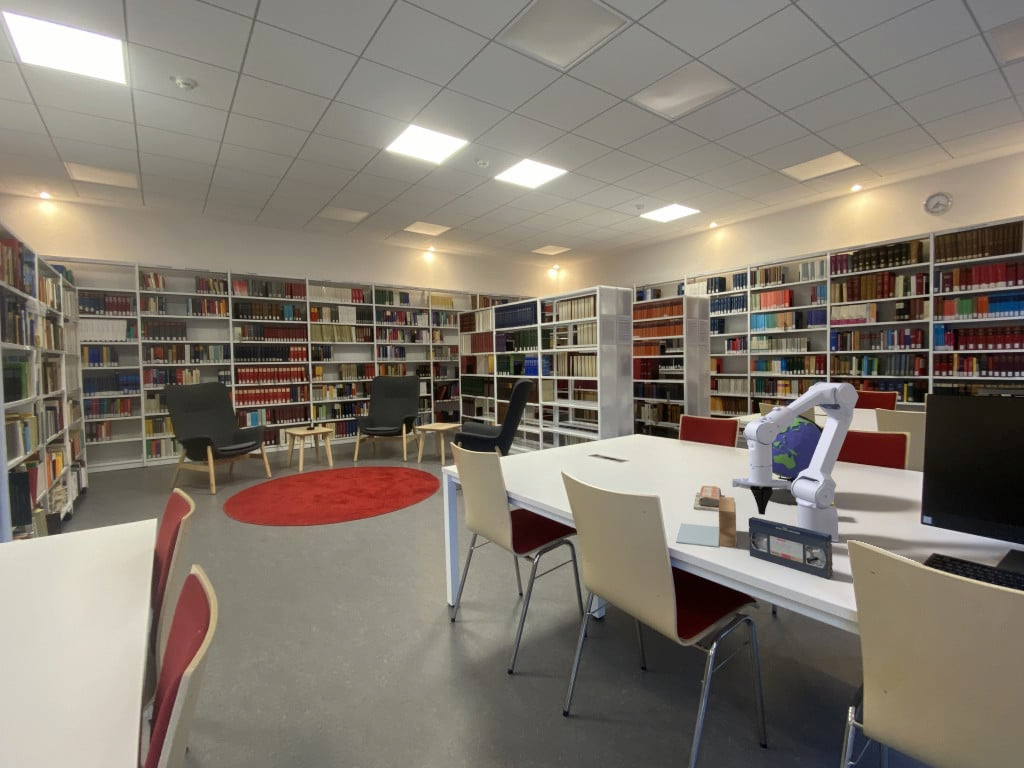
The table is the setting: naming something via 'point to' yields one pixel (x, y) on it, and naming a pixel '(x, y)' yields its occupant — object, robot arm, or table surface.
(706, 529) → the mat
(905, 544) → the table surface
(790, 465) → the globe
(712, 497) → the packaged product
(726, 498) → the tan wooden block
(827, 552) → the vhs cassette tape
